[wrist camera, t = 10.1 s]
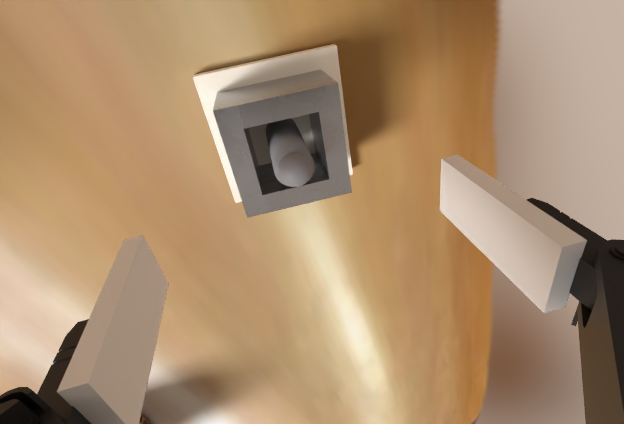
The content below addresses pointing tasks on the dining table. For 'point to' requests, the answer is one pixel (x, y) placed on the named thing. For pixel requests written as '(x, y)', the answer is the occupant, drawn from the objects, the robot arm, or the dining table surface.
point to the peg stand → (281, 134)
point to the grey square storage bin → (275, 107)
